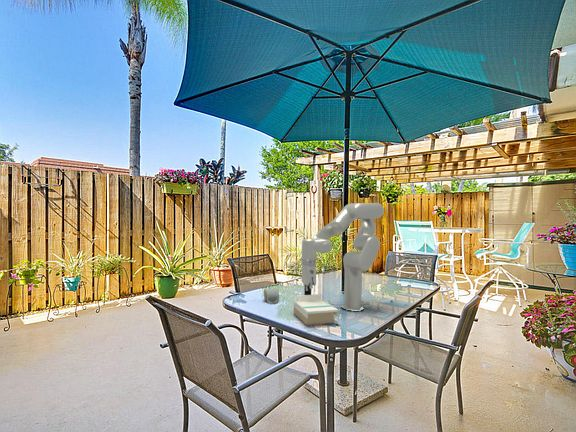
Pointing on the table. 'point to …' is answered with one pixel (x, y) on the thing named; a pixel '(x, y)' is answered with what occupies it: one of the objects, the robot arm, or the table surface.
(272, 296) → the ceramic mug
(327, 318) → the mailer box
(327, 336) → the table surface
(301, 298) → the lid
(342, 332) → the table surface
